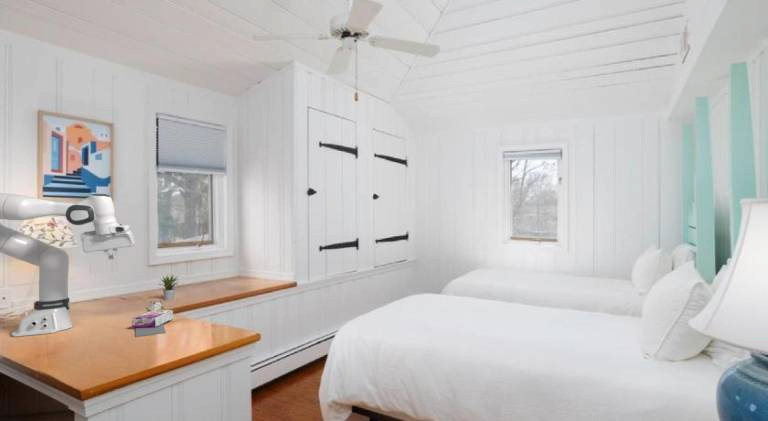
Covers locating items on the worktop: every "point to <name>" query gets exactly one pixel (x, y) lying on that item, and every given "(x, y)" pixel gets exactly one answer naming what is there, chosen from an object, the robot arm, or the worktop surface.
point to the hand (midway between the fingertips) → (112, 258)
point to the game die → (154, 306)
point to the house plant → (169, 287)
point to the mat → (150, 330)
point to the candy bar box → (152, 318)
